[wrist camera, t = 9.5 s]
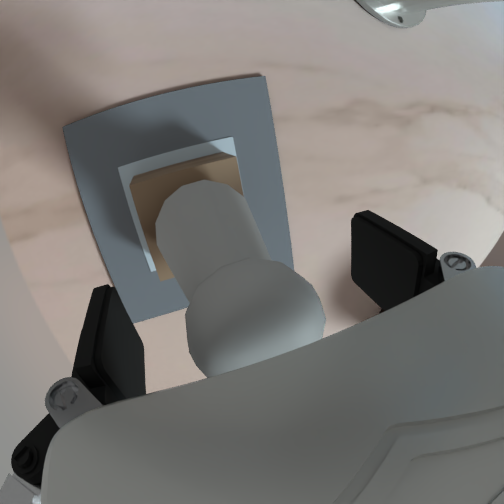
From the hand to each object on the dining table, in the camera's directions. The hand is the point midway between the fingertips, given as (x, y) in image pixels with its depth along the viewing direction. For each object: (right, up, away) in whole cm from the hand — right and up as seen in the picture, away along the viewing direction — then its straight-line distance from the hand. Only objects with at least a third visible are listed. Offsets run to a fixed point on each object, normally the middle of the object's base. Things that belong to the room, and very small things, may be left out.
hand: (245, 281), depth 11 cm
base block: (-5, +5, +12) cm, 14 cm away
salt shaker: (-3, +3, +9) cm, 10 cm away
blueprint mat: (-5, +5, +12) cm, 14 cm away
